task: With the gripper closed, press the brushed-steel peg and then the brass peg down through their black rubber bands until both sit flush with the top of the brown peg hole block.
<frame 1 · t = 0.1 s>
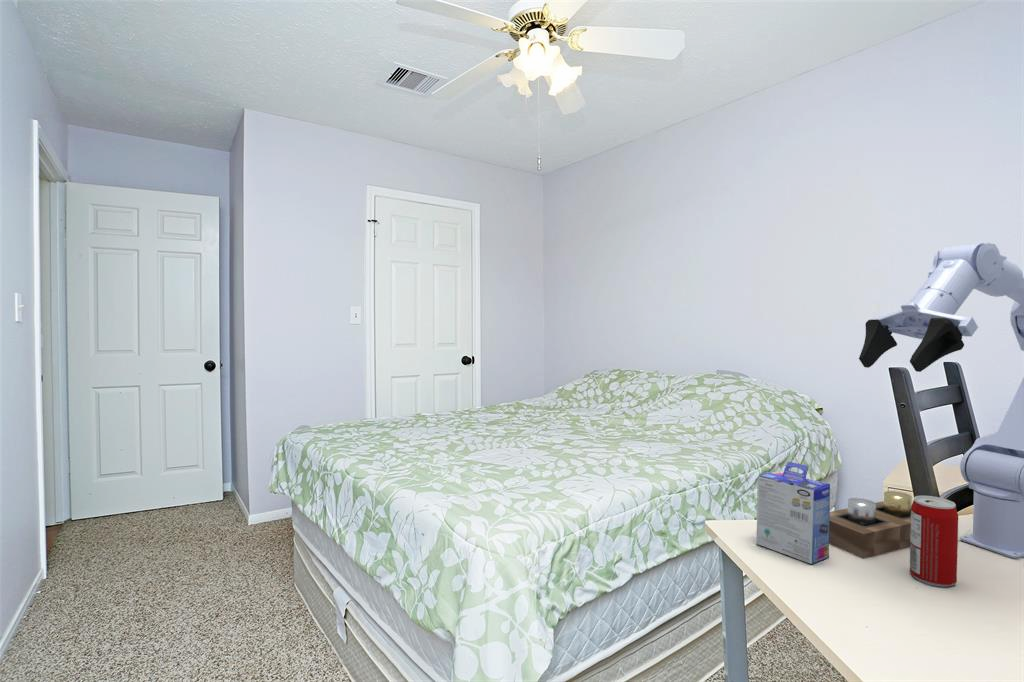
hand: (888, 364, 80), 32 cm above the table, tool tilted 50°, fingers open, 7 cm apart
ink cartridge box: (792, 552, 91), on the table
soda can: (932, 580, 81), on the table
brown peg hole block: (879, 537, 95), on the table
brass peg: (897, 505, 97), point 5 cm above the table, slide at 0.0 cm
steel peg: (861, 512, 93), point 5 cm above the table, slide at 0.0 cm
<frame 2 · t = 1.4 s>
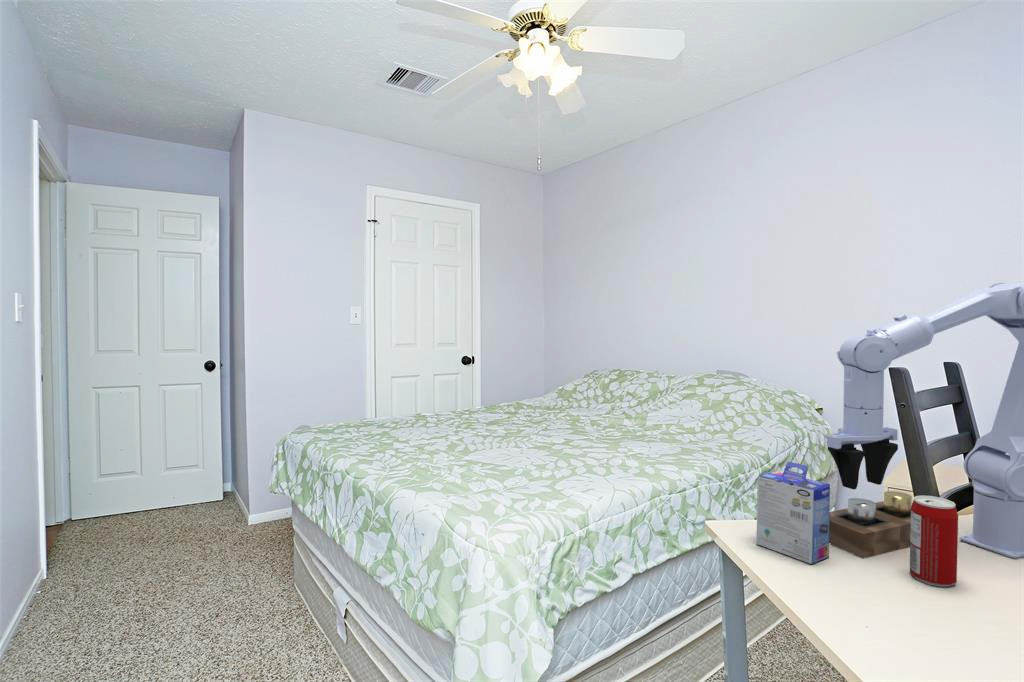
hand: (861, 485, 93), 10 cm above the table, tool pointing down, fingers open, 5 cm apart
nothing on the table moved.
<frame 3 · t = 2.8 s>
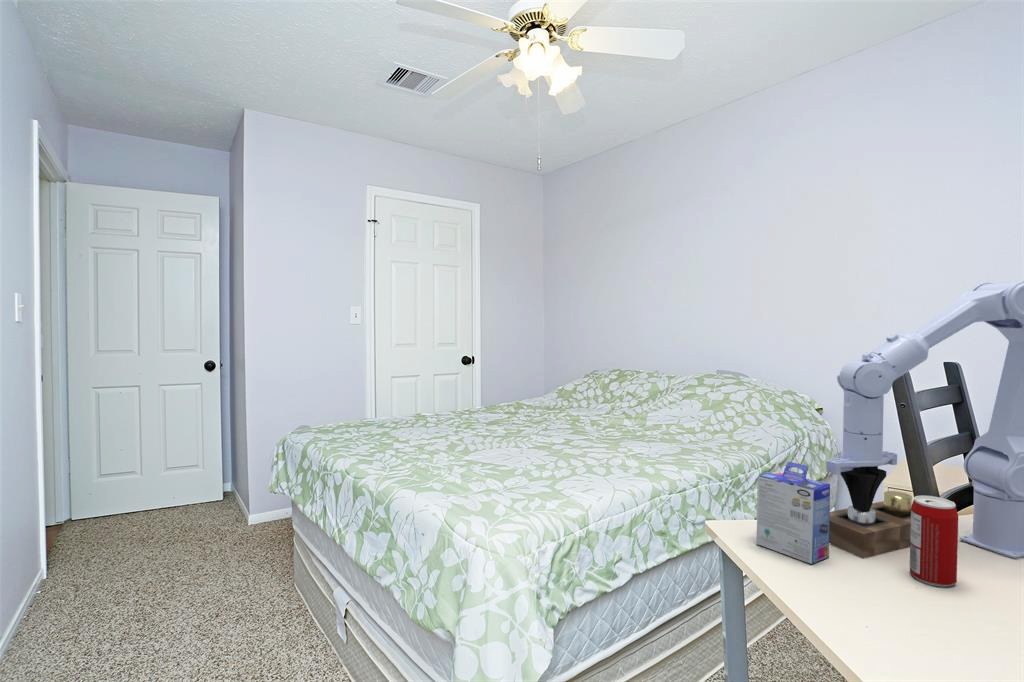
hand: (861, 509, 93), 6 cm above the table, tool pointing down, fingers closed, pressing on steel peg
steel peg: (861, 520, 93), point 4 cm above the table, slide at 1.3 cm, touching gripper
everything else where it was.
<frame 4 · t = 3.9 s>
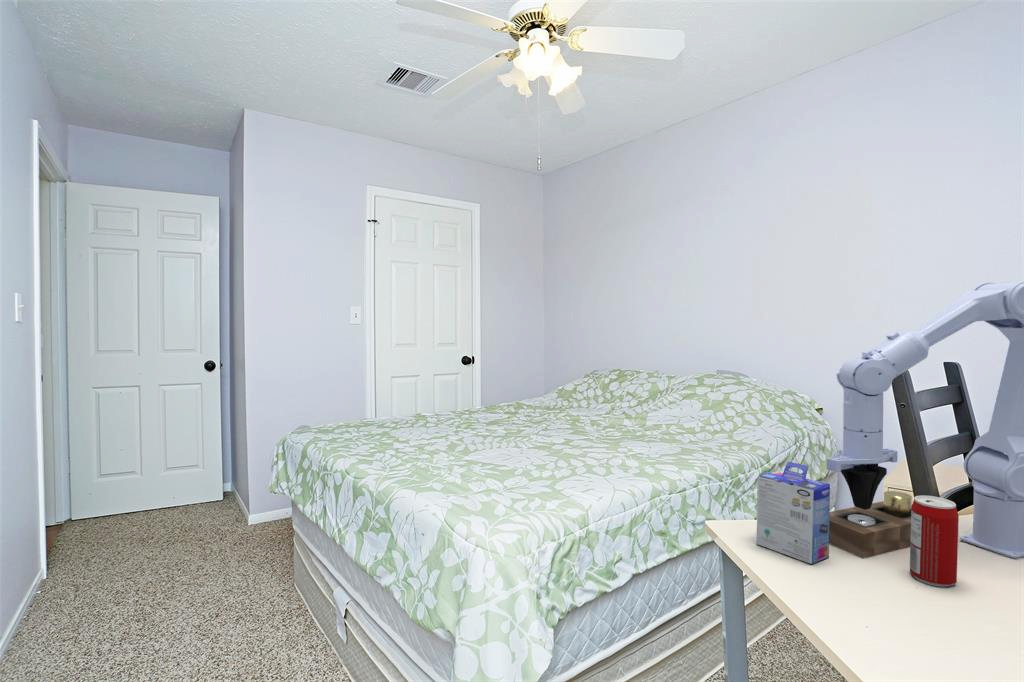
hand: (862, 507, 93), 6 cm above the table, tool pointing down, fingers closed
steel peg: (861, 529, 94), point 2 cm above the table, slide at 2.9 cm
everything else where it was.
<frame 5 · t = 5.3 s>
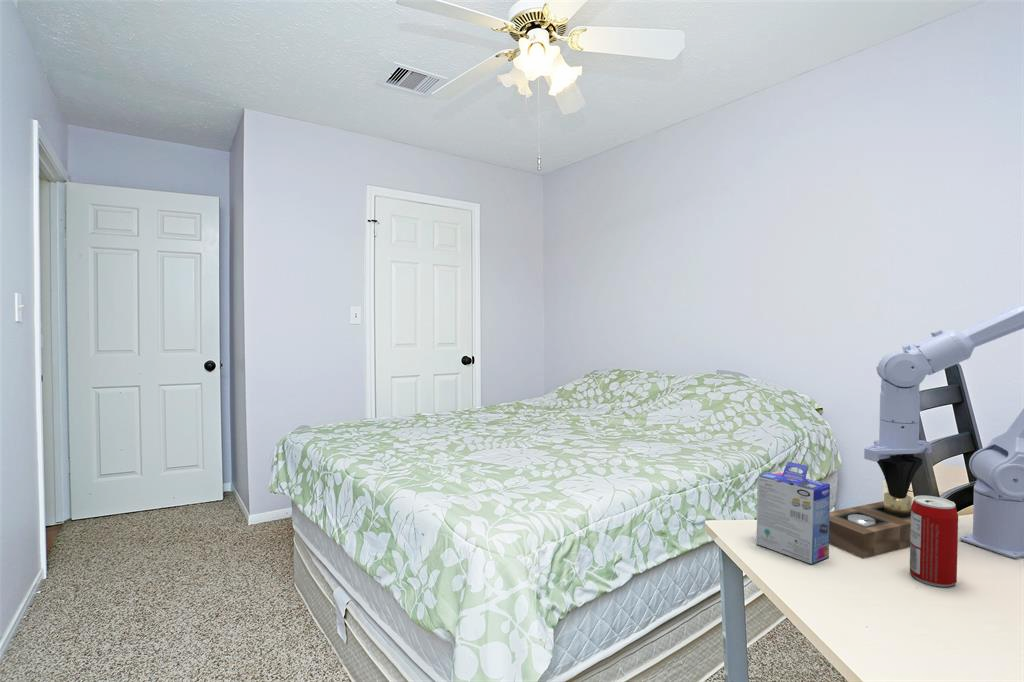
hand: (897, 496, 96), 7 cm above the table, tool pointing down, fingers closed, pressing on brass peg
brass peg: (897, 506, 97), point 5 cm above the table, slide at 0.2 cm, touching gripper
everything else where it was.
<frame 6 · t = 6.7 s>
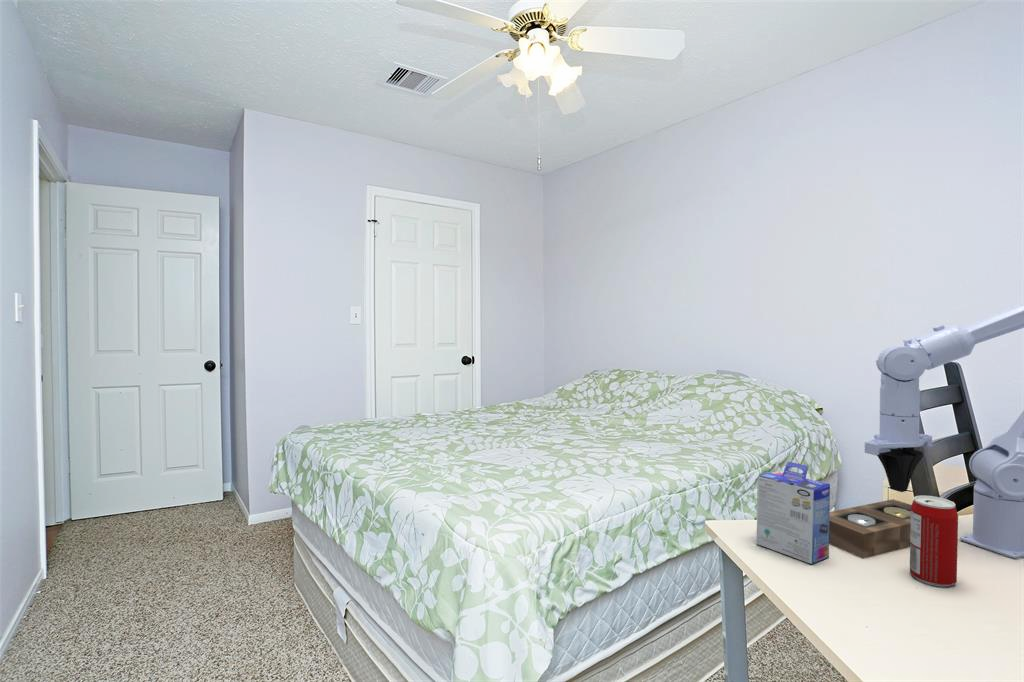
hand: (898, 490, 96), 8 cm above the table, tool pointing down, fingers closed
brass peg: (897, 521, 97), point 2 cm above the table, slide at 2.9 cm
everything else where it was.
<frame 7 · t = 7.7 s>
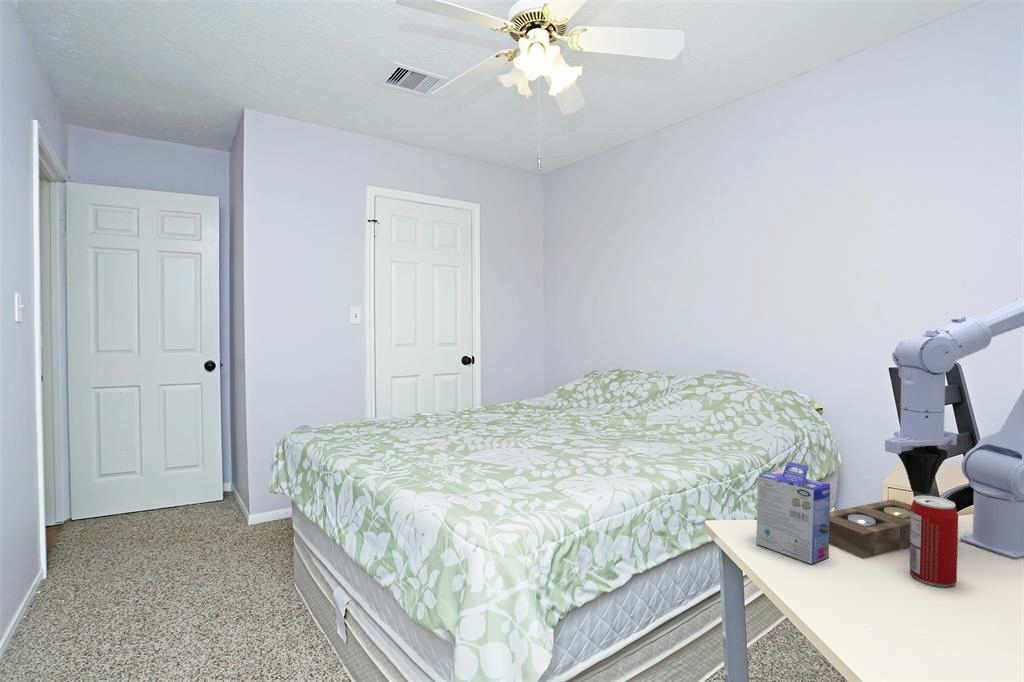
hand: (920, 491, 89), 10 cm above the table, tool pointing down, fingers closed
nothing on the table moved.
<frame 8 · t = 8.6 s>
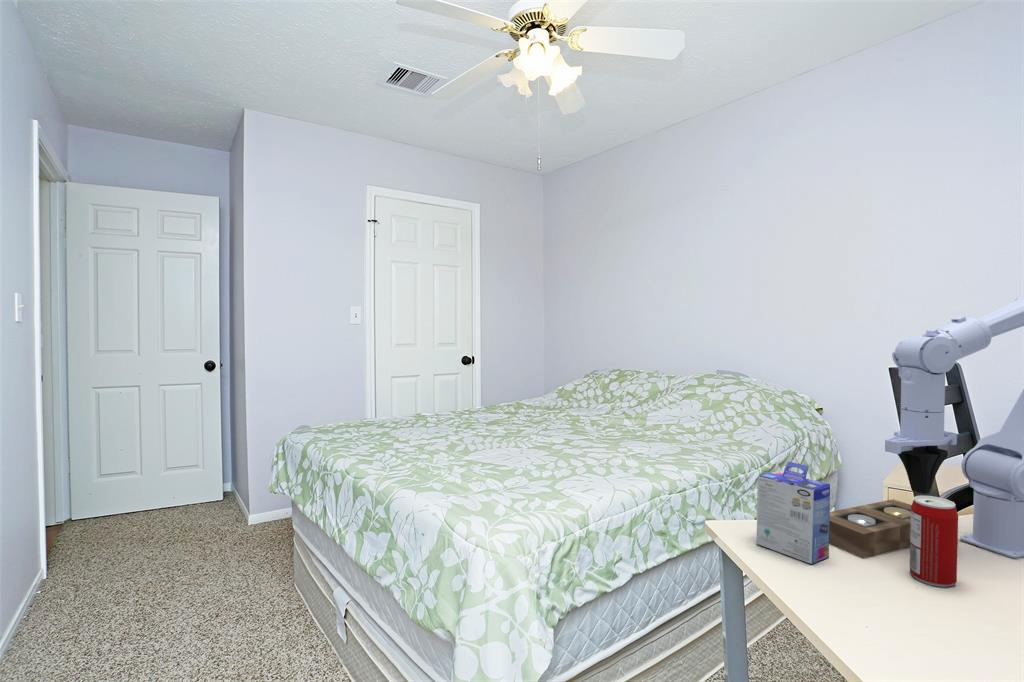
hand: (920, 491, 89), 10 cm above the table, tool pointing down, fingers closed
nothing on the table moved.
at the end: steel peg slide at 2.9 cm; brass peg slide at 2.9 cm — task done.
